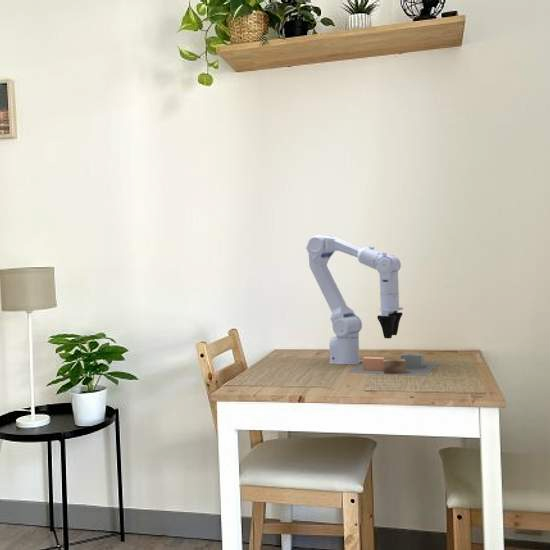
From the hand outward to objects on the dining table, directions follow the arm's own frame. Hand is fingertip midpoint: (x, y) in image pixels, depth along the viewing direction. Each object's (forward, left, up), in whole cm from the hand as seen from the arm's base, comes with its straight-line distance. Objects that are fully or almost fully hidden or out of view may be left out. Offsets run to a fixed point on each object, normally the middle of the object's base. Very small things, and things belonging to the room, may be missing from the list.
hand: (390, 336), depth 198 cm
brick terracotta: (-3, -9, -9) cm, 13 cm away
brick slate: (+7, -1, -9) cm, 11 cm away
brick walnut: (+4, -12, -9) cm, 15 cm away
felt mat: (+2, -5, -9) cm, 11 cm away
